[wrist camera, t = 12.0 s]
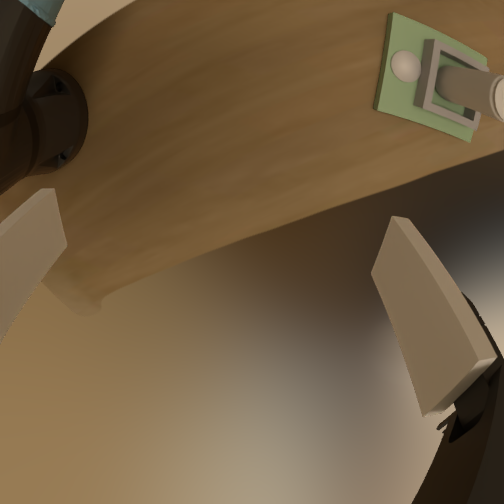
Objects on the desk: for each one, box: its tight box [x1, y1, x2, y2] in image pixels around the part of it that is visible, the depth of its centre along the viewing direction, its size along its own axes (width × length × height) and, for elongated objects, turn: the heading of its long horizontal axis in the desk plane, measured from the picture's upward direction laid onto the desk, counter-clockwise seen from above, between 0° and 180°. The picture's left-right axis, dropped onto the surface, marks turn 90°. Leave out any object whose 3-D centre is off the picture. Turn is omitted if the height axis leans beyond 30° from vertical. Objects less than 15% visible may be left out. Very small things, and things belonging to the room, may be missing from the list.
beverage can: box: [435, 66, 504, 122], centre depth 22 cm, size 5×5×12 cm
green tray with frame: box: [373, 12, 489, 142], centre depth 26 cm, size 15×13×4 cm
